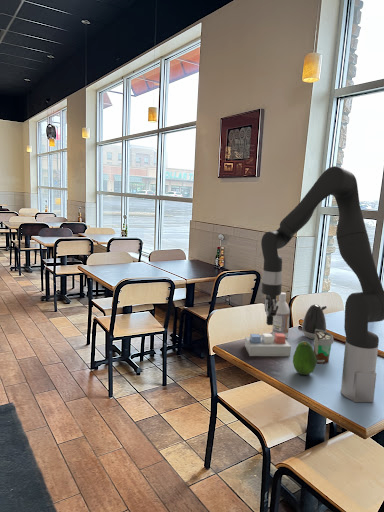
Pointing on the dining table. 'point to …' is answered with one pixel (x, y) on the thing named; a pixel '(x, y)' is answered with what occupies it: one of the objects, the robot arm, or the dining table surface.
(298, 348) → the avocado
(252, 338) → the blue key
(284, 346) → the button panel
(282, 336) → the red key
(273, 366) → the dining table surface
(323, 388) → the dining table surface
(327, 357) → the food container
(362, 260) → the robot arm
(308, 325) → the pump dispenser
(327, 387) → the dining table surface
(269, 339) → the white key
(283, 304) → the bath foam
